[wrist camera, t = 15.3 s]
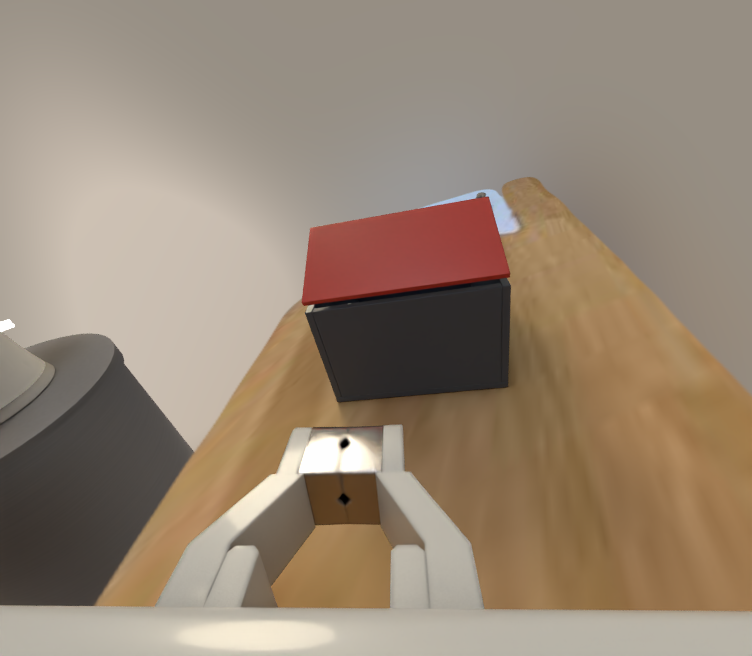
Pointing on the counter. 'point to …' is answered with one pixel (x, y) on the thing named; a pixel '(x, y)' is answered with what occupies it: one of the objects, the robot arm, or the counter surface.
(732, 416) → the counter surface
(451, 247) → the lid
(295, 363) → the counter surface
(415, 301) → the carton
